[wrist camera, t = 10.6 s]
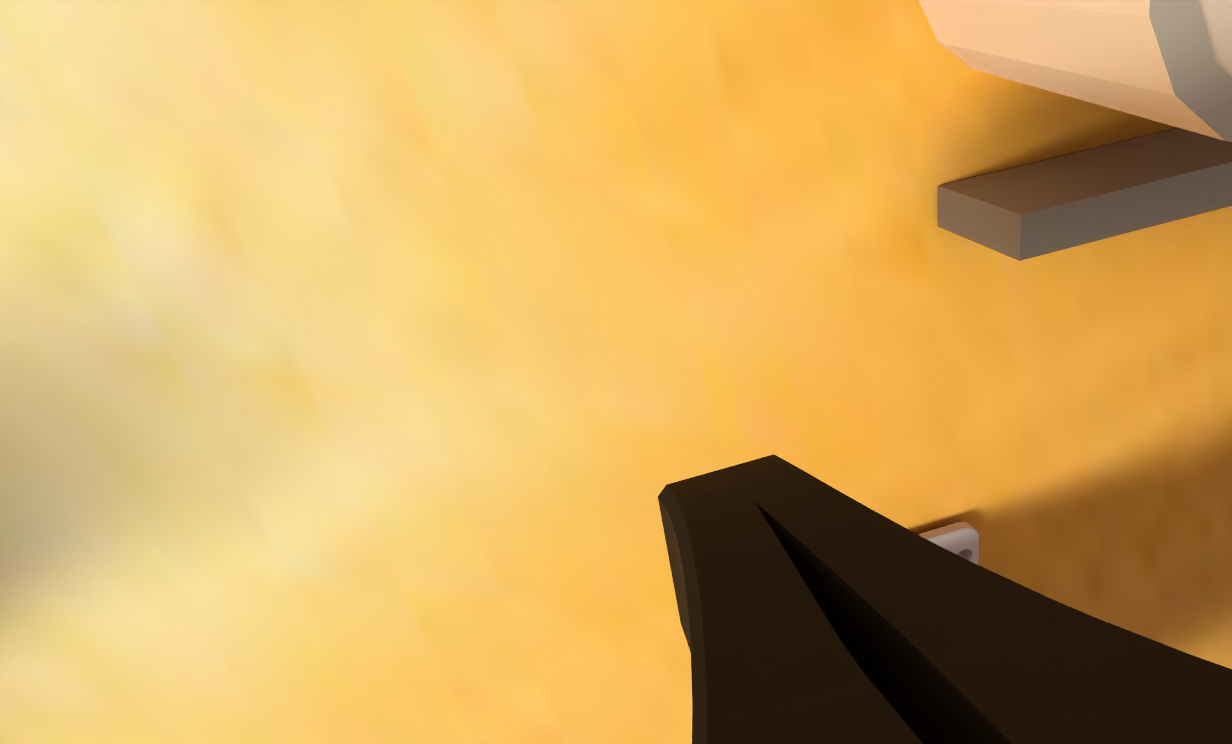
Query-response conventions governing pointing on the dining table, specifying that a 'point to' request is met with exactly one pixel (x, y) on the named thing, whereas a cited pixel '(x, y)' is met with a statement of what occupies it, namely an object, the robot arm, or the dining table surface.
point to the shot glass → (1104, 52)
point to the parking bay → (1090, 193)
